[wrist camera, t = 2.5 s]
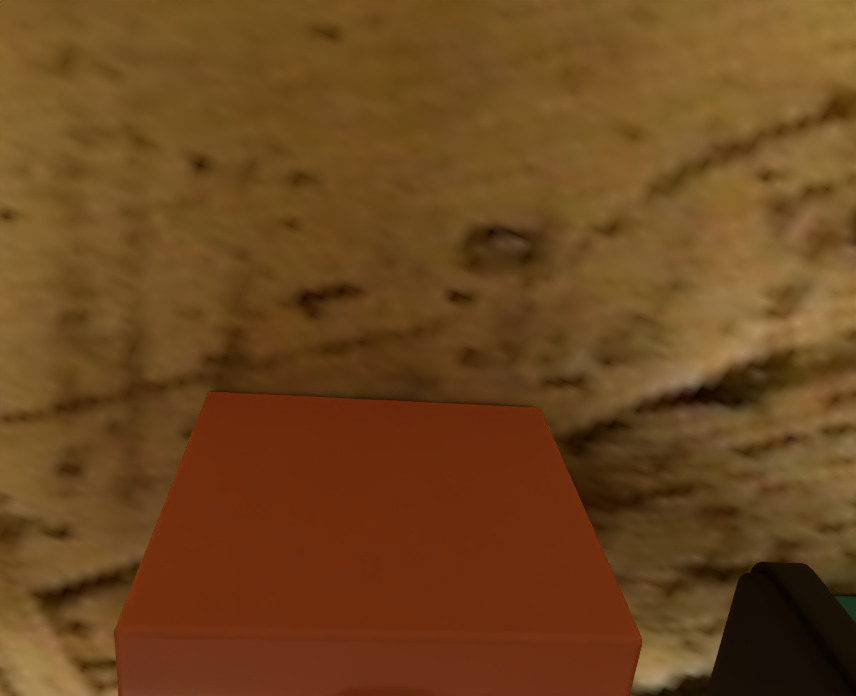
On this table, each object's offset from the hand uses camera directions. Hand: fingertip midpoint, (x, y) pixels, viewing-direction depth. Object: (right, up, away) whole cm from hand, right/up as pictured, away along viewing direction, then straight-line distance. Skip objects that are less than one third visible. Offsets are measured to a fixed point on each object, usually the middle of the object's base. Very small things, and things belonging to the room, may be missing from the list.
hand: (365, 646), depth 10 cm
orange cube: (0, +1, +2) cm, 2 cm away
